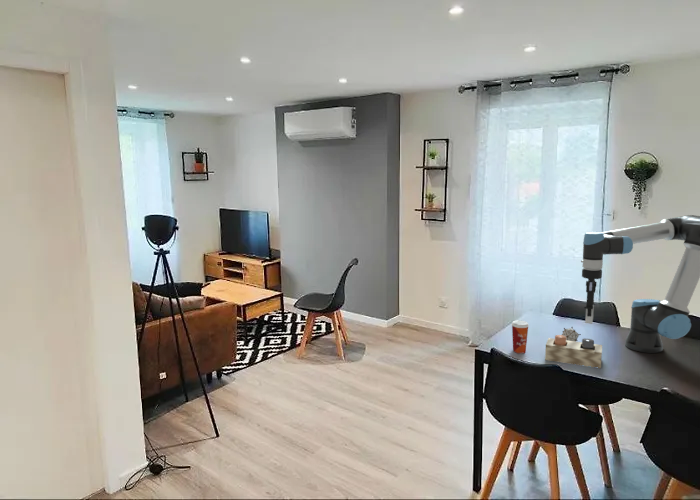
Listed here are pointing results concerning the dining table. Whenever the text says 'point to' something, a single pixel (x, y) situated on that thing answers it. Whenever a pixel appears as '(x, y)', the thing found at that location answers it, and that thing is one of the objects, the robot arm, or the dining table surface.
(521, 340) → the paper cup
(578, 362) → the button box
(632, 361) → the dining table surface
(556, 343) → the terracotta button
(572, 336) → the spiked grey ball
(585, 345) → the charcoal button
